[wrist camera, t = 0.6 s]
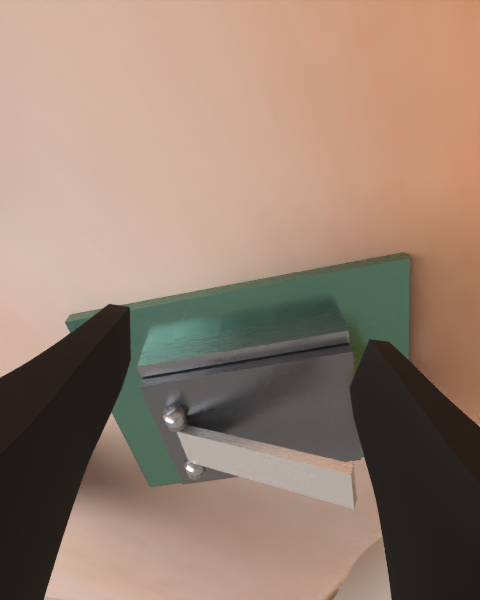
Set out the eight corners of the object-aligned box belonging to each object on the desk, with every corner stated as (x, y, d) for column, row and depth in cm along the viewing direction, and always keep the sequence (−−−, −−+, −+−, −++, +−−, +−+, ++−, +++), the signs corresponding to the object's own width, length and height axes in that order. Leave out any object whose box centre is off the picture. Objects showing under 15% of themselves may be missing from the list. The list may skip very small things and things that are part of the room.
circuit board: (152, 477, 31) (138, 543, 27) (69, 314, 24) (31, 369, 19) (403, 442, 30) (432, 506, 25) (404, 252, 22) (447, 297, 17)
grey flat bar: (193, 454, 24) (189, 462, 24) (181, 423, 23) (176, 431, 23) (356, 498, 20) (354, 509, 19) (353, 464, 19) (350, 474, 18)
